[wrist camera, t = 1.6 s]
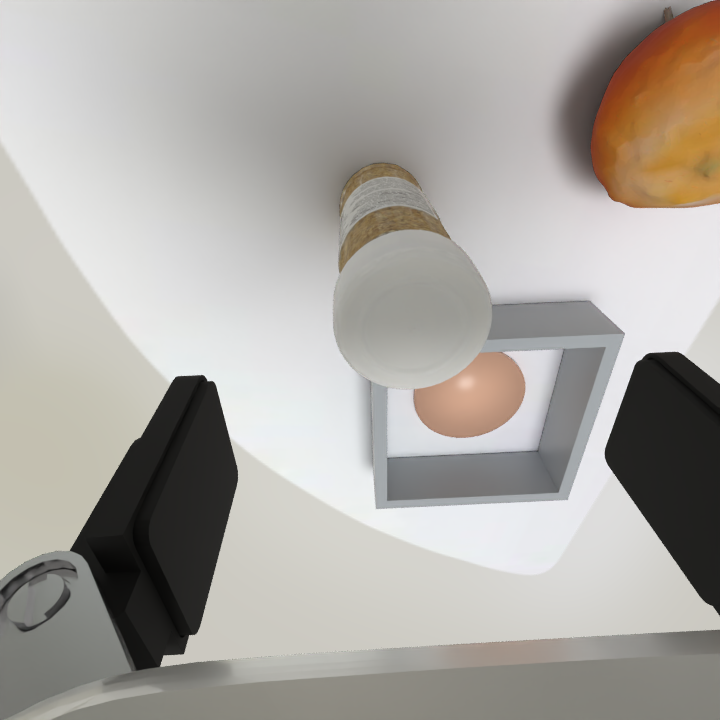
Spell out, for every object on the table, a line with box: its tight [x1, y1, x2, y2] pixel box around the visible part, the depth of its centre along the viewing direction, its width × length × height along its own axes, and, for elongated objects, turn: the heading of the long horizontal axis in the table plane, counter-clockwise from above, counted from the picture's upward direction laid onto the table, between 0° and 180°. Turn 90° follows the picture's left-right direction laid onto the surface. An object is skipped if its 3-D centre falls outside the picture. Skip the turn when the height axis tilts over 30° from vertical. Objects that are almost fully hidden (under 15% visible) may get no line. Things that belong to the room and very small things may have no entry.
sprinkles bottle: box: [333, 163, 492, 389], centre depth 18 cm, size 5×5×14 cm
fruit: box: [591, 0, 720, 208], centre depth 19 cm, size 8×8×8 cm
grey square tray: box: [371, 301, 625, 509], centre depth 29 cm, size 14×14×4 cm
